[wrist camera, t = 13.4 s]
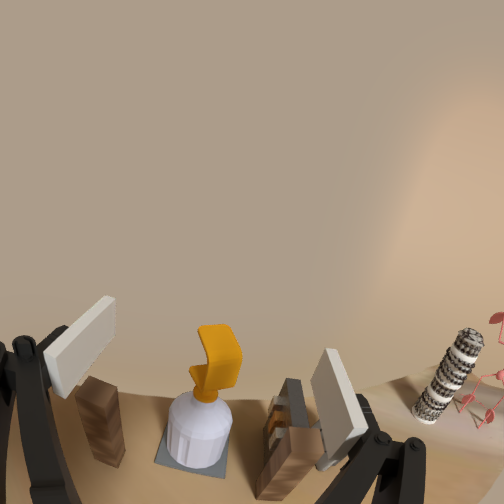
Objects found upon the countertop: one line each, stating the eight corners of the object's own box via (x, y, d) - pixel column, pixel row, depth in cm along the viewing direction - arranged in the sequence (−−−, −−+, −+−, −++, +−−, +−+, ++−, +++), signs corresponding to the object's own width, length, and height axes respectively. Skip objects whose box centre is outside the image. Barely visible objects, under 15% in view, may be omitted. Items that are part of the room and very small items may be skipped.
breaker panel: (256, 476, 33) (284, 431, 29) (257, 428, 44) (278, 376, 40) (278, 478, 33) (310, 433, 30) (275, 430, 44) (300, 379, 41)
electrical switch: (301, 436, 43) (323, 406, 41) (322, 434, 45) (346, 404, 43) (318, 473, 35) (346, 445, 33) (341, 469, 36) (369, 440, 34)
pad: (154, 462, 31) (154, 461, 31) (168, 420, 41) (168, 419, 41) (224, 478, 31) (225, 477, 31) (229, 434, 41) (229, 433, 41)
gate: (94, 458, 27) (74, 395, 23) (103, 441, 31) (89, 375, 27) (281, 501, 29) (324, 452, 24) (280, 482, 32) (319, 428, 28)
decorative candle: (405, 413, 52) (456, 328, 45) (417, 398, 57) (461, 320, 51) (431, 430, 45) (487, 346, 39) (440, 414, 51) (489, 335, 44)
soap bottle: (207, 424, 42) (234, 310, 36) (230, 462, 35) (274, 351, 29) (159, 432, 37) (168, 312, 31) (179, 475, 30) (195, 363, 24)
